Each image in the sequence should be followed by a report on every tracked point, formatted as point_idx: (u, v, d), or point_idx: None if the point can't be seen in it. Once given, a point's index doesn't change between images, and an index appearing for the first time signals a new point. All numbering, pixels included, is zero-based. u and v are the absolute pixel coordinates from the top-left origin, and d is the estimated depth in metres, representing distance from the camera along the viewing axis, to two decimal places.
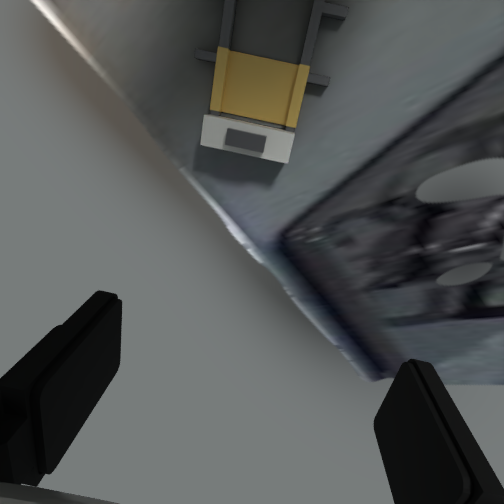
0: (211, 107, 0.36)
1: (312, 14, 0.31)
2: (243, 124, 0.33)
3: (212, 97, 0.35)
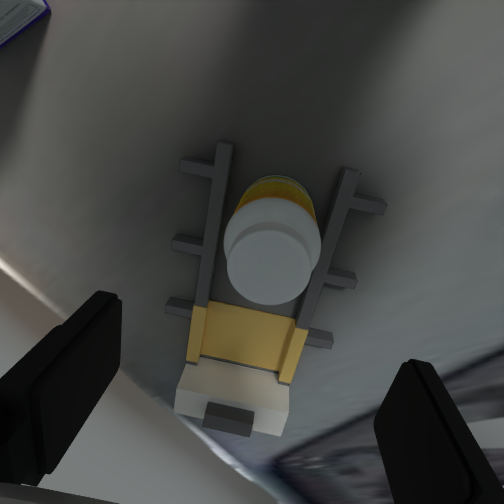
0: (188, 358, 0.29)
1: (311, 284, 0.25)
2: (225, 399, 0.27)
3: (188, 350, 0.29)
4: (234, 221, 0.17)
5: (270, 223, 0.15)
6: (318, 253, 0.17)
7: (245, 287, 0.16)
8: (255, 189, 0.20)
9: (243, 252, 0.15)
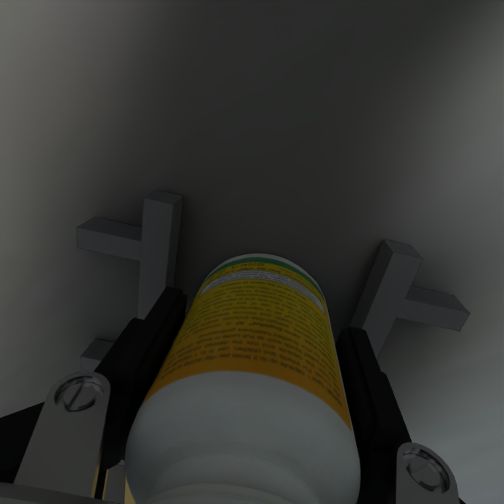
0: None
1: None
2: None
3: None
4: (140, 434, 0.07)
5: None
6: None
7: None
8: (212, 305, 0.09)
9: None
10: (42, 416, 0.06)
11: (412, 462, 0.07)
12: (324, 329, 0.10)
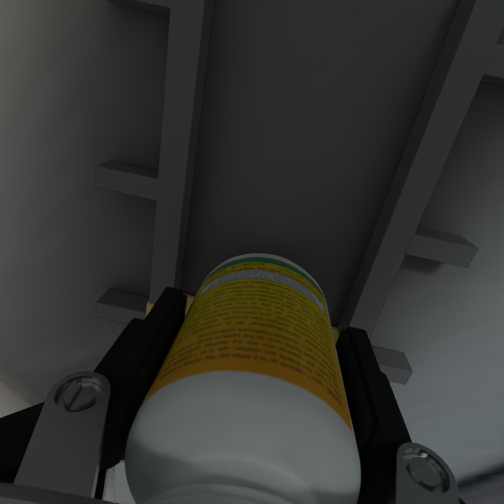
0: None
1: (379, 257, 0.12)
2: None
3: None
4: (140, 434, 0.07)
5: None
6: None
7: None
8: (212, 305, 0.09)
9: None
10: (42, 416, 0.06)
11: (412, 462, 0.07)
12: (324, 329, 0.10)
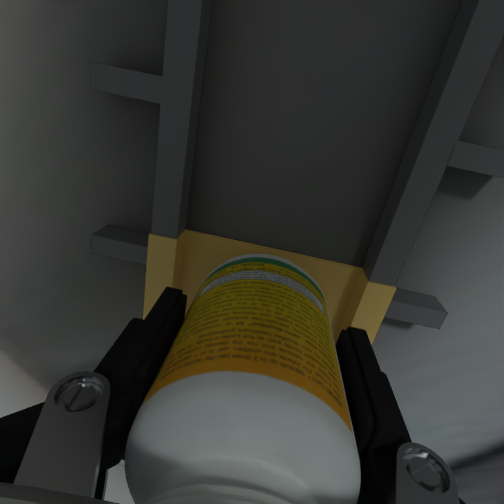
0: None
1: (416, 170, 0.11)
2: None
3: None
4: (140, 435, 0.07)
5: None
6: None
7: None
8: (212, 305, 0.09)
9: None
10: (42, 416, 0.06)
11: (412, 462, 0.07)
12: (324, 329, 0.10)
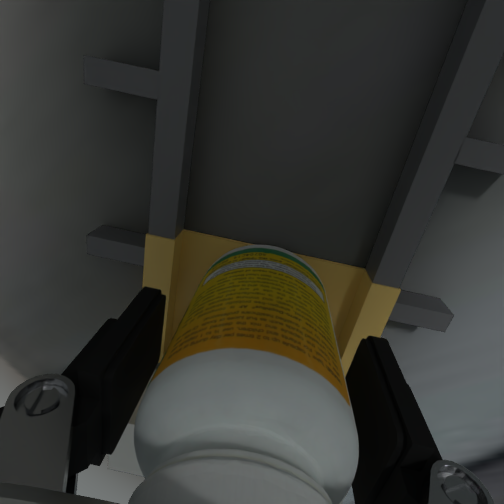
0: None
1: (422, 168, 0.10)
2: None
3: None
4: (149, 408, 0.07)
5: (228, 473, 0.05)
6: (354, 475, 0.07)
7: None
8: (215, 291, 0.10)
9: None
10: None
11: (447, 480, 0.07)
12: (324, 315, 0.10)
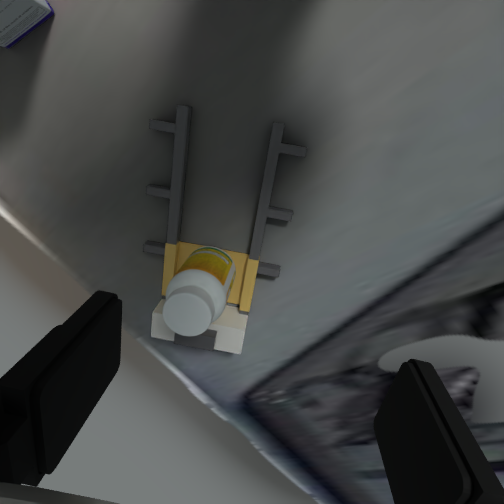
0: (163, 293, 0.35)
1: (257, 218, 0.31)
2: None
3: (163, 285, 0.35)
4: (170, 284, 0.28)
5: (187, 287, 0.26)
6: (223, 302, 0.28)
7: (174, 326, 0.26)
8: (189, 260, 0.31)
9: (171, 305, 0.26)
10: None
11: None
12: (224, 267, 0.31)
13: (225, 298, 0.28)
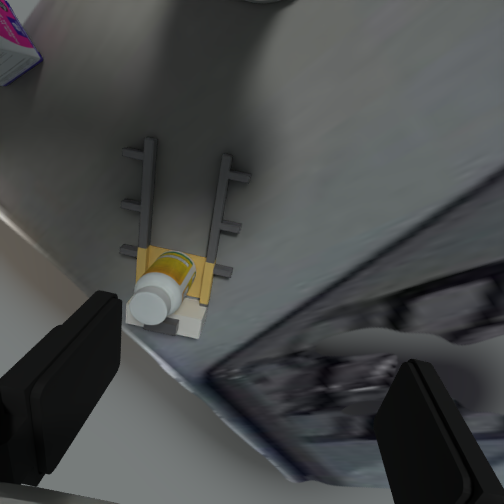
0: None
1: (211, 230, 0.38)
2: None
3: (136, 281, 0.42)
4: (137, 284, 0.35)
5: (148, 287, 0.33)
6: (179, 299, 0.35)
7: (138, 316, 0.34)
8: (155, 263, 0.38)
9: (135, 301, 0.33)
10: None
11: None
12: (184, 269, 0.38)
13: (181, 295, 0.35)
